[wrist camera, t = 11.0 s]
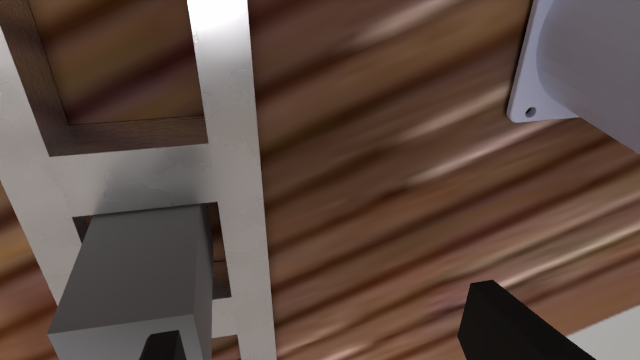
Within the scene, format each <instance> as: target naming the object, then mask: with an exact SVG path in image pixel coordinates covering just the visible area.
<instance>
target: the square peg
mask: <svg viewBox="0 0 640 360" xmlns="http://www.w3.org/2000/svg"><path fill="white" fill-rule="evenodd" d="M212 290H213V237H212V231H211V225H210V219H209V213H208V207H207V203H200V204H190V205H181V206H171V207H162V208H152V209H143V210H133V211H124V212H114V213H105V214H96V215H93V217H92V220H91V222H90V225H89V227H88V230H87V232H86V235H85V238H84V240H83V243H82V245H81V248H80V251H79V253H78V256H77V258H76V261H75V264H74V266H73V269H72V271H71V274H70V276H69V279H68V282H67V284H66V287H65V289H64V292H63V295H62V297H61V300H60V302H59V305H58V307H57V310H56V313H55V315H54V318H53V320H52V323H51V326H50V328H49V331H48V333H47V335H48V337H49V339H50V341H51V343H52V345H53V347H54V349H55V351H56V353H57V355H58V357H59V359H60V360H139V358H140V356H141V353H142V351H143V348H144V345H145V343H146V340H147V338H148V337H149V336H150V335H151V334H155V333H161V332H167V331H174V330H179V332H180V336H181V340H182V344H183V348H184V352H185V356H186V359H187V360H211V347H212Z"/></svg>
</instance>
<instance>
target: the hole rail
mask: <svg viewBox="0 0 640 360" xmlns="http://www.w3.org/2000/svg"><path fill="white" fill-rule="evenodd" d="M187 2H188V8H189V15H190V22H191V28H192V35H193V42H194V48H195V55H196V62H197V68H198V75H199V82H200V88H201V95H202V102H203V108H204V116H191V117H178V118H165V119H152V120H138V121H125V122H112V123H99V124H86V125H73V126H69V124H68V121H67V118H66V115H65V112H64V109H63V106H62V103H61V100H60V97H59V94H58V91H57V88H56V85H55V82H54V79H53V76H52V73H51V70H50V67H49V64H48V61H47V58H46V55H45V52H44V49H43V46H42V43H41V40H40V37H39V34H38V31H37V28H36V25H35V22H34V19H33V16H32V13H31V10H30V7H29V4H28V1H27V0H0V180H1V182H2V185H3V187H4V189H5V191H6V193H7V196H8V198H9V200H10V202H11V204H12V207H13V209H14V211H15V213H16V215H17V218H18V220H19V222H20V224H21V226H22V229H23V231H24V233H25V235H26V237H27V240H28V242H29V244H30V246H31V248H32V251H33V253H34V255H35V257H36V259H37V261H38V264H39V266H40V268H41V270H42V272H43V275H44V277H45V279H46V281H47V283H48V286H49V288H50V290H51V292H52V294H53V297H54V299H55V301H56V303H57V305H59V302H60V300H61V297H62V295H63V292H64V289H65V287H66V284H67V282H68V279H69V276H70V274H71V271H72V269H73V266H74V264H75V261H76V258H77V256H78V253H79V251H80V248H81V245H82V243H83V240H84V238H85V235H86V232H87V230H88V227H89V225H90V222H91V220H92V217H93V215H96V214H105V213H114V212H124V211H133V210H143V209H152V208H162V207H171V206H181V205H190V204H200V203H209V202H218V208H219V215H220V222H221V228H222V235H223V241H224V248H225V255H226V261H221V262H213V290H212V338H216V337H222V336H229V335H236V334H237V335H238V341H239V348H240V355H241V360H277V359H276V347H275V335H274V322H273V310H272V298H271V286H270V274H269V262H268V250H267V238H266V225H265V213H264V201H263V189H262V177H261V165H260V153H259V141H258V128H257V116H256V104H255V92H254V80H253V68H252V56H251V43H250V31H249V19H248V7H247V0H187Z"/></svg>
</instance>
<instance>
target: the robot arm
mask: <svg viewBox="0 0 640 360" xmlns="http://www.w3.org/2000/svg"><path fill="white" fill-rule="evenodd" d="M530 107H531V110H530V111H529V112H528V113H527V114H525V113H526V111H527V109H529V108H530ZM507 117H508V118H509V119H510V120H511V121H513V122H516V123H520V122H531V121H543V120H554V119H565V118H577V117H581V118H582V119H584V120H586V121H587V122H589V123H590V124H592V125H593V126H595V127H597V128H598V129H600V130H601V131H603V132H604V133H606V134H608V135H609V136H611V137H612V138H614V139H616V140H617V141H619V142H620V143H622V144H623V145H625V146H627V147H628V148H630V149H631V150H633V151H634V152H636V153H638V154H639V155H640V0H534V1H533V5H532V9H531V13H530V17H529V21H528V25H527V30H526V34H525V38H524V42H523V46H522V50H521V54H520V58H519V62H518V67H517V71H516V75H515V79H514V83H513V87H512V91H511V95H510V100H509V104H508V108H507ZM458 339H459V341H460V344H461V347H462V349H463V352H464V354H465V357H466V359H467V360H596V359H595V358H593V357H592V356H591V355H589V354H588V353H586V352H585V351H583V350H582V349H581V348H579V347H578V346H577V345H576V344H574V343H573V342H571V341H570V340H569V339H568V338H566V337H565V336H564V335H562V334H561V333H560V332H558V331H557V330H556V329H554V328H553V327H552V326H551V325H549V324H548V323H547V322H545V321H544V320H543V319H542V318H540V317H539V316H538V315H537V314H535V313H534V312H533V311H532V310H530V309H529V308H528V307H526V306H525V305H524V304H523V303H521V302H520V301H519V300H518V299H516V298H515V297H514V296H513V295H511V294H510V293H509V292H508V291H506V290H505V289H504V288H503V287H501V286H500V285H499V284H497V283H496V282H495V281H493V280H488V281H482V282H476V283H471V284H470V288H469V292H468V296H467V300H466V304H465V308H464V312H463V316H462V320H461V324H460V328H459V332H458ZM139 360H187V359H186V356H185V352H184V348H183V344H182V340H181V336H180V332H179V330H174V331H167V332H161V333H155V334H151V335H150V336H149V337H148V338H147V340H146V343H145V345H144V348H143V351H142V353H141V356H140V358H139Z"/></svg>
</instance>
